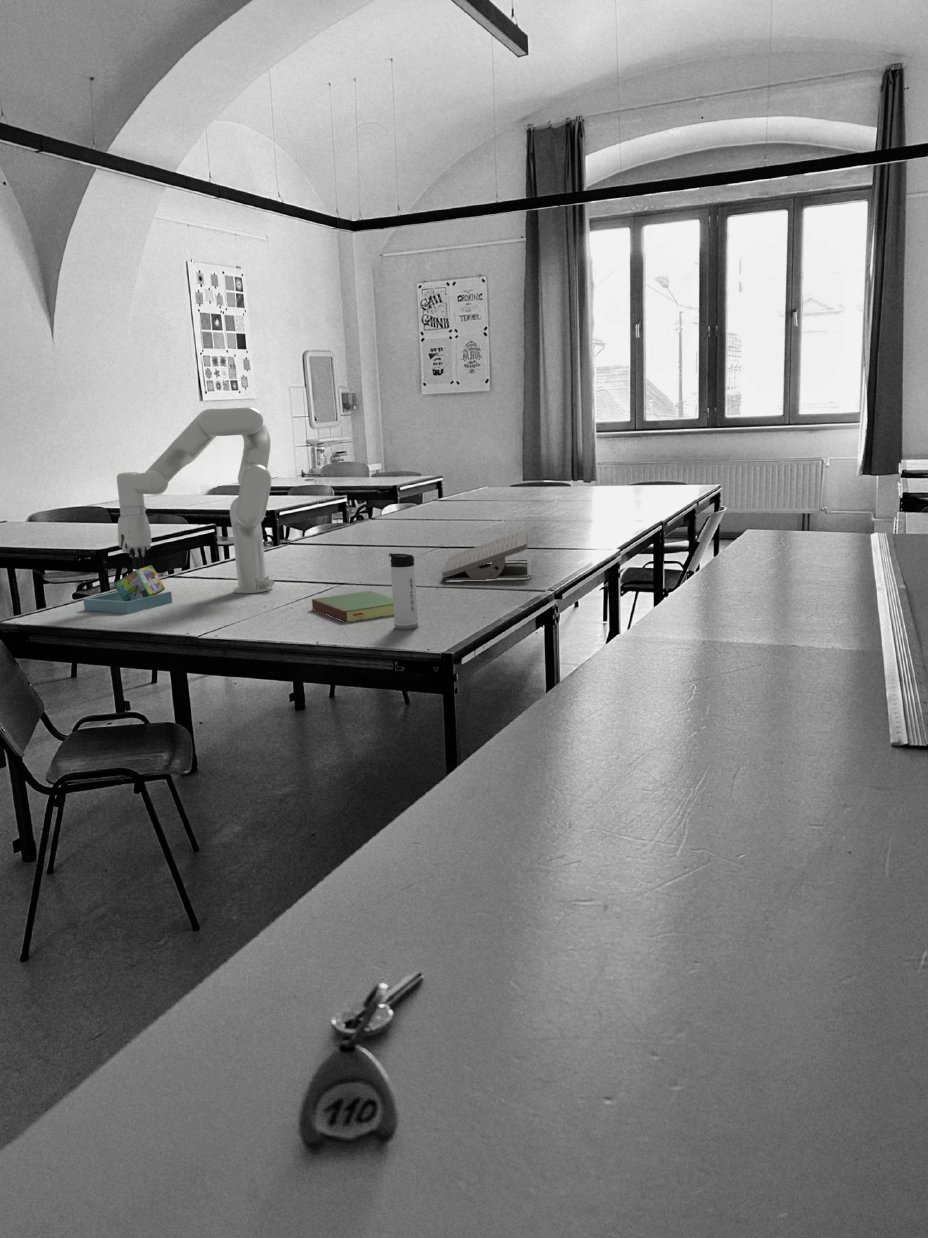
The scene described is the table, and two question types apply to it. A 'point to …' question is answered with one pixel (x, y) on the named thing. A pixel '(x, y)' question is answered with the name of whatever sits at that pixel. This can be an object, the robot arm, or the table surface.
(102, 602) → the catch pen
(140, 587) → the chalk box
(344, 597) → the hardcover book
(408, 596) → the travel mug
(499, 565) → the foot rest
